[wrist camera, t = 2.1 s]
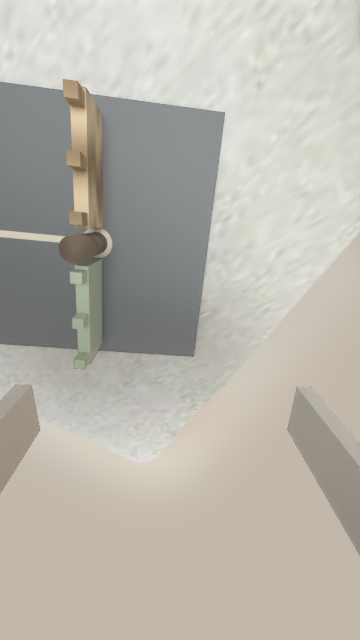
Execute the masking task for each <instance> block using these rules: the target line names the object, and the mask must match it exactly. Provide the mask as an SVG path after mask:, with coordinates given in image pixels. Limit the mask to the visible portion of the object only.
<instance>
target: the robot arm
mask: <svg viewBox="0 0 360 640" xmlns="http://www.w3.org/2000/svg"><path fill="white" fill-rule="evenodd" d="M287 430H288V432H289V434H290V435H291V437H292V439H293V441H294V442H295V444H296V446H297V447H298V449H299V451H300V453H301V454H302V456H303V458H304V460H305V461H306V463H307V465H308V467H309V468H310V470H311V472H312V474H313V475H314V477H315V479H316V481H317V482H318V484H319V486H320V488H321V489H322V491H323V493H324V494H325V496H326V498H327V500H328V501H329V503H330V505H331V507H332V508H333V510H334V512H335V514H336V515H337V517H338V519H339V520H340V522H341V524H342V526H343V527H344V529H345V531H346V533H347V534H348V536H349V538H350V540H351V541H352V543H353V545H354V546H355V548H356V550H357V552H358V554H359V555H360V442H359V441H358V439H357V438H356V437H355V436H354V435H353V434H352V432H351V431H350V430H349V429H348V428H347V427H346V426H345V424H344V423H343V422H342V421H341V420H340V419H339V418H338V416H336V414H335V413H334V412H333V411H332V410H331V409H330V407H329V406H328V405H327V404H326V403H325V402H324V401H323V399H322V398H321V397H320V396H319V395H318V394H317V393H316V391H314V389H313V388H312V387H297V388H296V393H295V397H294V401H293V406H292V411H291V416H290V420H289V424H288V429H287ZM39 431H40V427H39V421H38V416H37V410H36V405H35V399H34V394H33V389H32V385H15V386H14V387H13V388H12V389H11V390H10V391H9V392H8V393H7V394H6V395H5V396H4V397H3V398H2V399H1V400H0V493H1V492H2V490H3V489H4V487H5V485H6V484H7V482H8V481H9V479H10V478H11V476H12V474H13V473H14V471H15V470H16V468H17V466H18V465H19V463H20V461H21V460H22V458H23V457H24V455H25V453H26V452H27V450H28V449H29V447H30V446H31V444H32V442H33V441H34V439H35V437H36V436H37V434H38V433H39Z"/></svg>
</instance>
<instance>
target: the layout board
mask: <svg viewBox="0 0 360 640" xmlns="http://www.w3.org/2000/svg"><path fill="white" fill-rule="evenodd" d="M90 95H91V96H92V98H93V100H94V101H95V103H96V105H97V106H98V108H99V110H100V111H101V113H102V148H103V228H93V229H86V228H76V227H75V225H74V224H70V223H69V211H74V189H73V168H71V167H69V166H68V165H67V157H66V150H72V138H71V113H70V104H69V103H68V101H67V100H66V99H65V98H64V92H63V90H56V89H49V88H42V87H34V86H27V85H20V84H12V83H5V82H0V344H9V345H24V346H40V347H55V348H70V349H78V334H77V329H72V318H73V317H74V316H75V315H76V314H77V310H76V286H75V284H70V271H72V270H74V269H75V265H76V264H72V263H69V262H67V261H65V260H64V259H63V258H62V257H61V255H60V253H59V243H60V241H61V240H62V239H63V238H64V237H66V236H70V235H77V234H85V233H92V232H99V233H101V234H103V235H104V236H105V238H106V239H107V248H106V250H105V251H104V252H102V253H100V254H98V255H95V256H93V257H91V258H97V259H102V344H101V346H100V348H99V349H98V350H101V351H116V352H131V353H146V354H162V355H177V356H192V357H194V349H195V342H196V334H197V326H198V318H199V310H200V303H201V295H202V287H203V279H204V272H205V264H206V256H207V248H208V241H209V233H210V225H211V217H212V210H213V202H214V194H215V186H216V179H217V171H218V163H219V155H220V147H221V140H222V132H223V124H224V116H225V112H217V111H210V110H203V109H195V108H188V107H181V106H173V105H166V104H159V103H151V102H144V101H137V100H129V99H122V98H115V97H108V96H100V95H93V94H90ZM84 261H85V260H84ZM82 262H83V261H82ZM80 263H81V262H80ZM77 264H78V263H77Z"/></svg>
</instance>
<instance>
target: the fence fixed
mask: <svg viewBox="0 0 360 640" xmlns="http://www.w3.org/2000/svg"><path fill="white" fill-rule="evenodd" d="M63 92H64V98H65V99H66V100H67V101H68V103H69V104H70V113H71V138H72V150H66V157H67V165H68V166H69V167H71V168H73V189H74V211H69V223H70V224H74V225H75V227H76V228H86V229H93V228H103V148H102V113H101V111H100V110H99V108H98V106H97V105H96V103H95V101H94V100H93V98H92V96H91V95H90V93H89V91H88V90H87V88H86V87H81V85H80V84H79V82H78V81H73V80H66V79H63ZM106 248H107V239H106V238H105V236H104V235H103V234H101V233H99V232H92V233H85V234H77V235H70V236H66V237H64V238H63V239H62V240H61V241H60V243H59V253H60V255H61V257H62V258H63V259H64V260H65V261H67V262H69V263H72V264H77V263H80V262H82V261H84V260H87V259H89V258H91V257H93V256H95V255H98V254H100V253H102V252H104V251H105V250H106Z"/></svg>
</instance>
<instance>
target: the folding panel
mask: <svg viewBox="0 0 360 640" xmlns="http://www.w3.org/2000/svg"><path fill="white" fill-rule="evenodd" d="M70 284H75V286H76V310H77V314H76V315H75V316H74V317H73V318H72V329H77V334H78V355H77V356H76V357H75V359H74V369H85V368H86V367H87V365H88V364H91V362H92V360H93V359H94V357H95V355H96V353H97V351H98V349H99V348H100V346H101V344H102V259H97V258H89V259H87V260H85V261H83V262H81V263H78V264H76V265H75V269H74V270H72V271H70Z"/></svg>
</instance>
